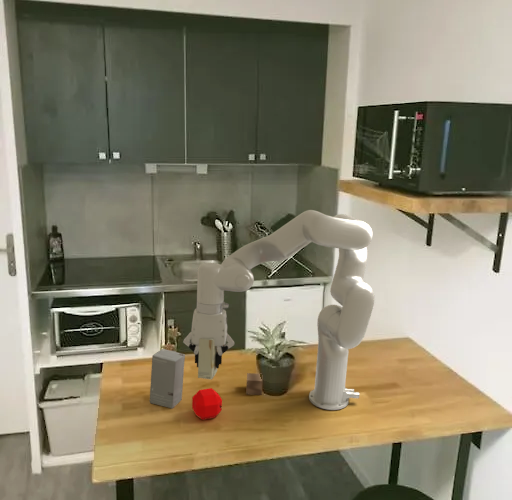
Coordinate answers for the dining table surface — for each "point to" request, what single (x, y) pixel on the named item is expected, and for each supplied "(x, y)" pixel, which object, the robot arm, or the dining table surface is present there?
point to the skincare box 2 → (207, 359)
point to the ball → (206, 403)
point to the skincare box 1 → (167, 378)
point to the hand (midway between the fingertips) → (208, 365)
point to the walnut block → (254, 384)
